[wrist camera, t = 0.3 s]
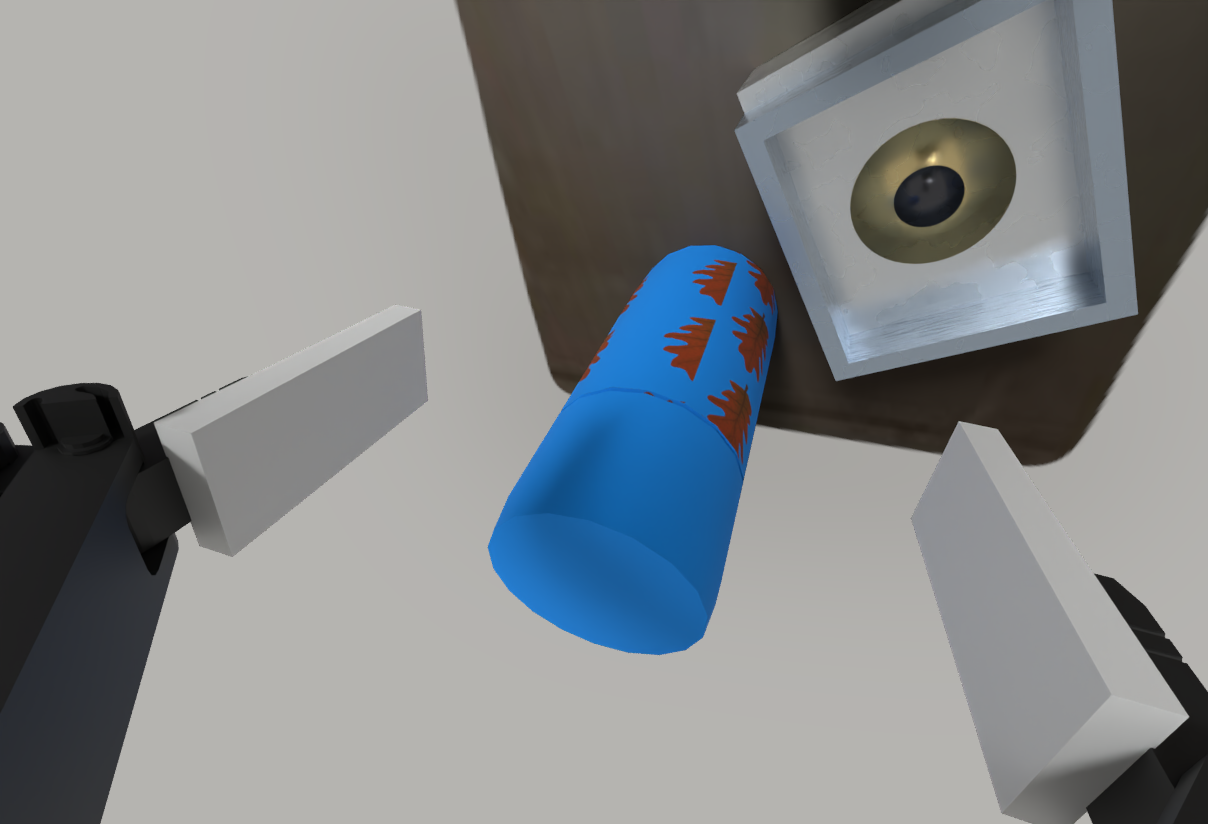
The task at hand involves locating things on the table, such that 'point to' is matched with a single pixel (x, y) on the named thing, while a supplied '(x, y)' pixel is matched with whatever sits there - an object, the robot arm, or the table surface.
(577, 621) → the thermos
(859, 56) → the open grey metal box
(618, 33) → the table surface
